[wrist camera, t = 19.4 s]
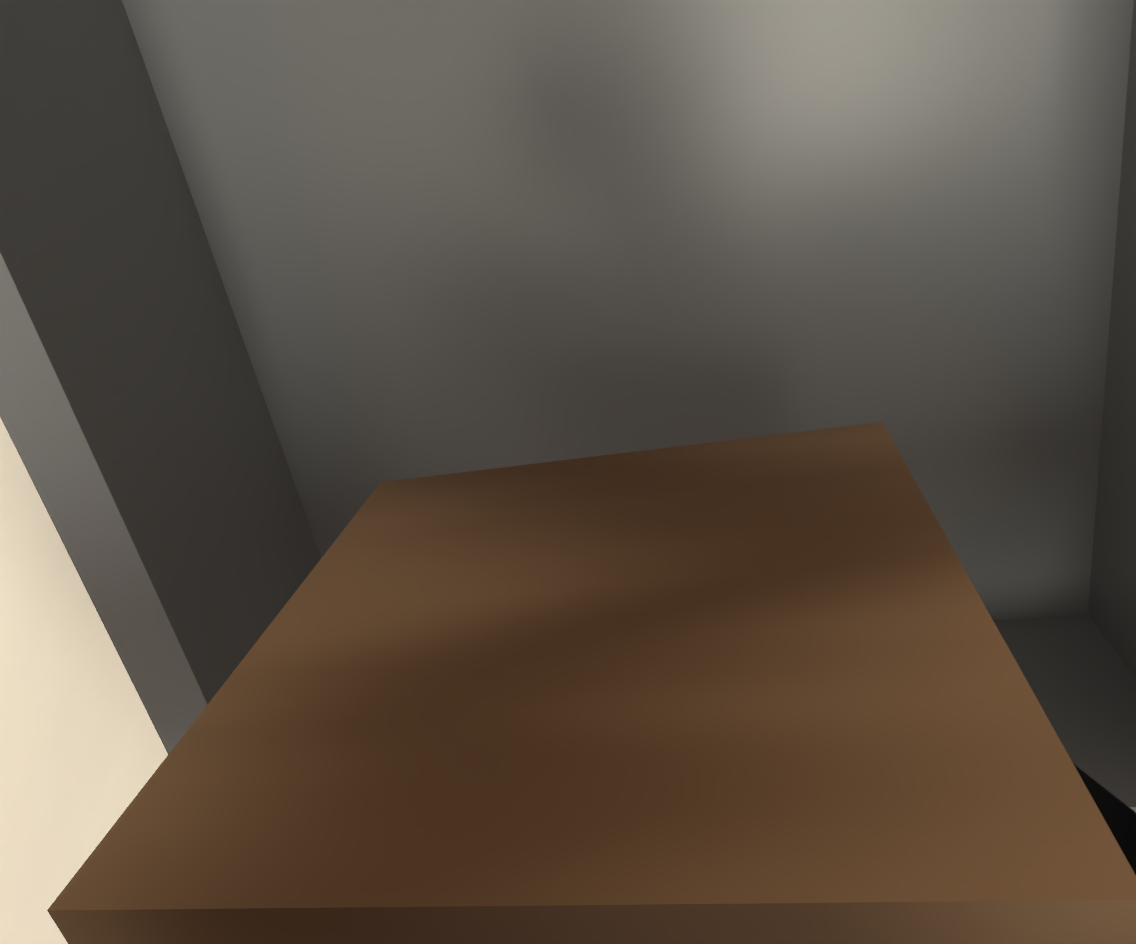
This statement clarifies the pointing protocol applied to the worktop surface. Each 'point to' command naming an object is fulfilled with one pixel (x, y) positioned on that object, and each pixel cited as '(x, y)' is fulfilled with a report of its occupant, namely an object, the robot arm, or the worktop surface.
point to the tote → (569, 284)
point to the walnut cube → (623, 729)
